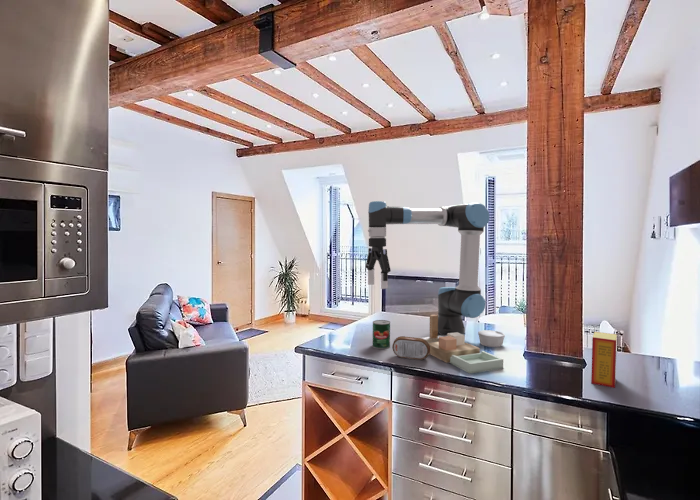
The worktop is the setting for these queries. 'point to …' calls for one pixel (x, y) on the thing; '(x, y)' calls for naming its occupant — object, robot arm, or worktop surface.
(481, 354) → the box
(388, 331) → the canned tomato
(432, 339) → the scraper
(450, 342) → the terracotta block
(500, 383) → the worktop surface
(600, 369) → the baking soda box
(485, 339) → the ramekin
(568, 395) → the worktop surface
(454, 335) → the cream block
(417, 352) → the tin
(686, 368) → the worktop surface
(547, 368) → the worktop surface
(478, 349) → the tan flat block
